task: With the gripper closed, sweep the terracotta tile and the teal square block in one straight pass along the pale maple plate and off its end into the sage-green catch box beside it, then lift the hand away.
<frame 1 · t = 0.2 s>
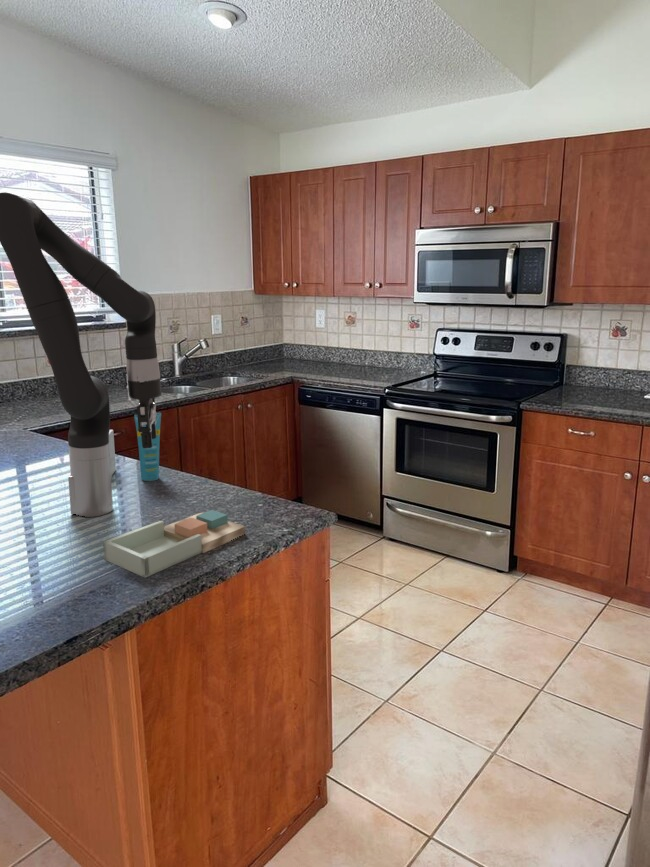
hand: (149, 443, 156), 17 cm above the countertop, tool pointing down, fingers open, 8 cm apart
tube: (150, 479, 184), on the countertop
terracotta tile: (191, 531, 143), point 2 cm above the countertop, touching maple plate
catch box: (153, 556, 135), on the countertop
teal square block: (212, 523, 148), point 2 cm above the countertop, touching maple plate
maple plate: (202, 535, 146), on the countertop
supplement box: (100, 474, 188), on the countertop
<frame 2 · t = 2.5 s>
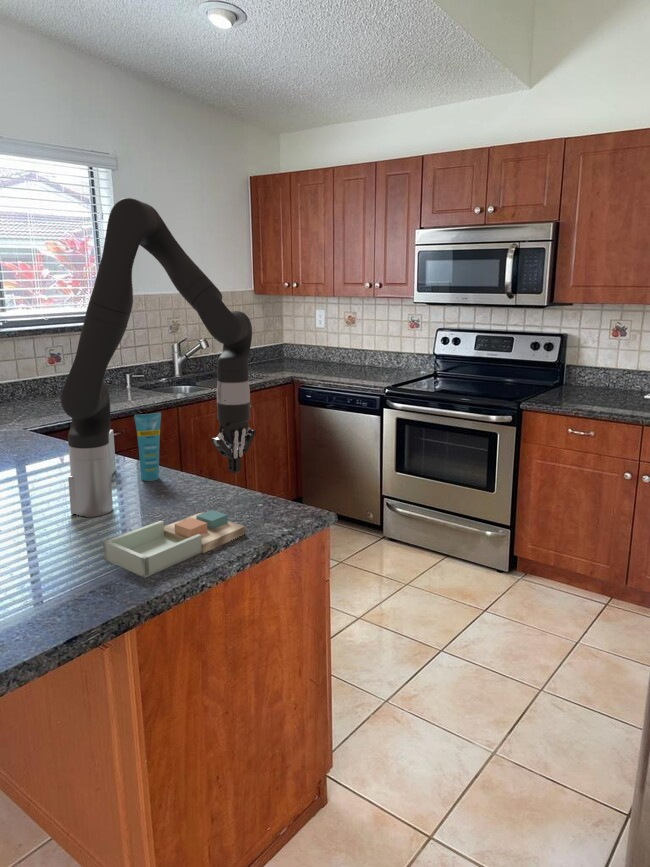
hand: (235, 472, 151), 13 cm above the countertop, tool pointing down, fingers closed
nothing on the countertop moved.
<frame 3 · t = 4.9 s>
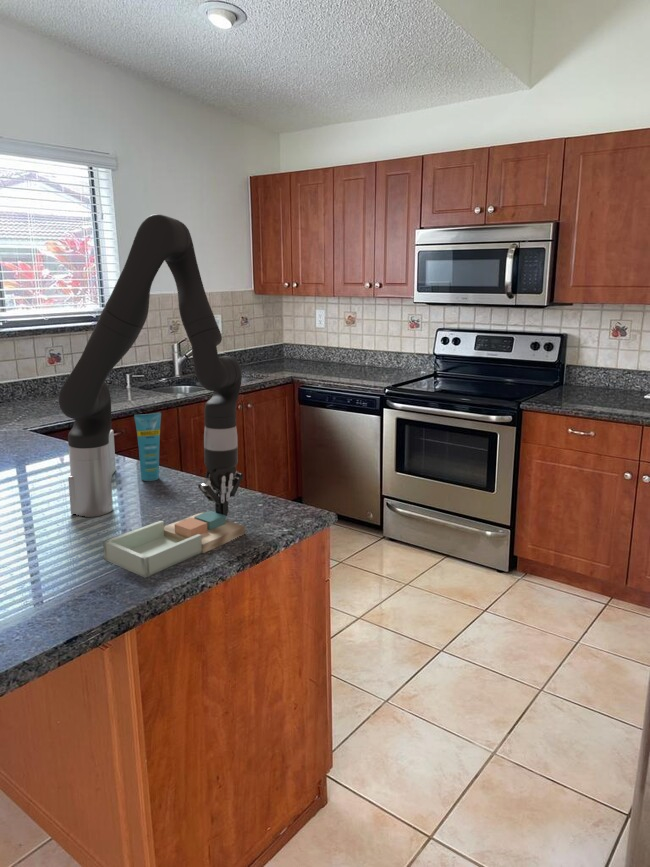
hand: (222, 516, 150), 3 cm above the countertop, tool pointing down, fingers closed
teal square block: (210, 524, 147), point 2 cm above the countertop, touching gripper
everything else where it was.
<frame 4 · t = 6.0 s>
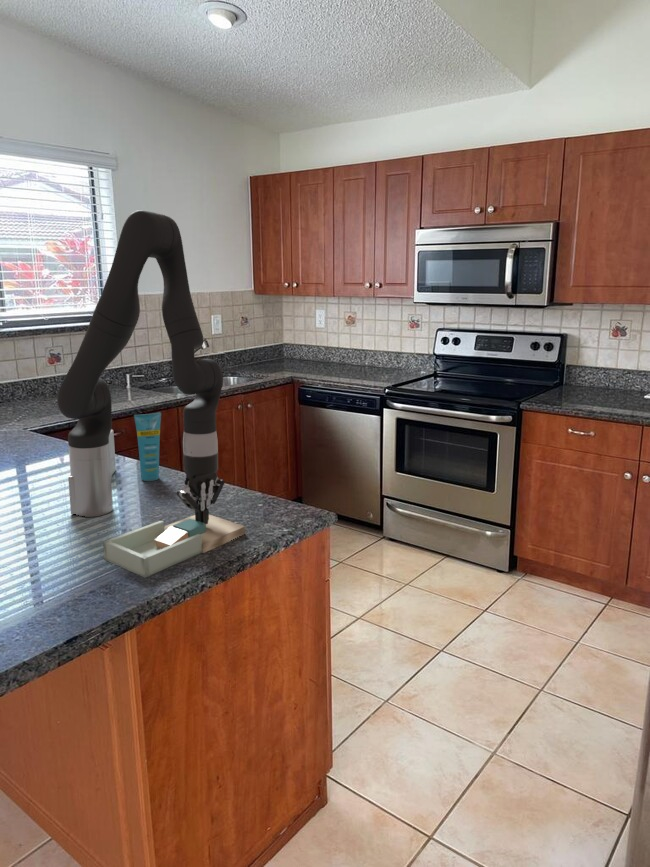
hand: (202, 524, 145), 3 cm above the countertop, tool pointing down, fingers closed
terracotta tile: (173, 543, 139), point 1 cm above the countertop, tilted 17°, touching maple plate
teal square block: (189, 532, 142), point 2 cm above the countertop, touching gripper
everything else where it was.
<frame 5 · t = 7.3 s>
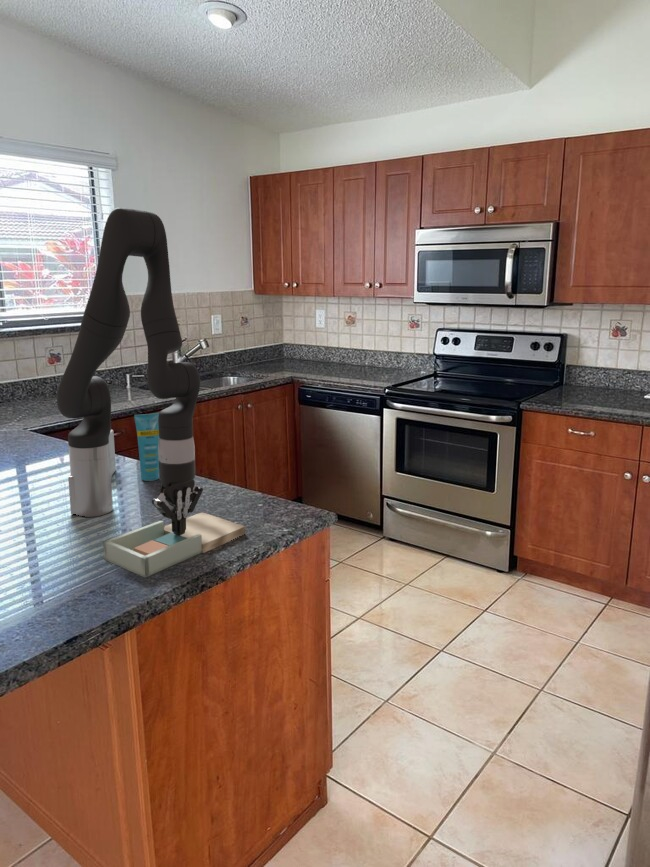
hand: (179, 533, 140), 3 cm above the countertop, tool pointing down, fingers closed
terracotta tile: (151, 555, 134), resting on catch box
teal square block: (171, 547, 138), resting on catch box
everything else where it was.
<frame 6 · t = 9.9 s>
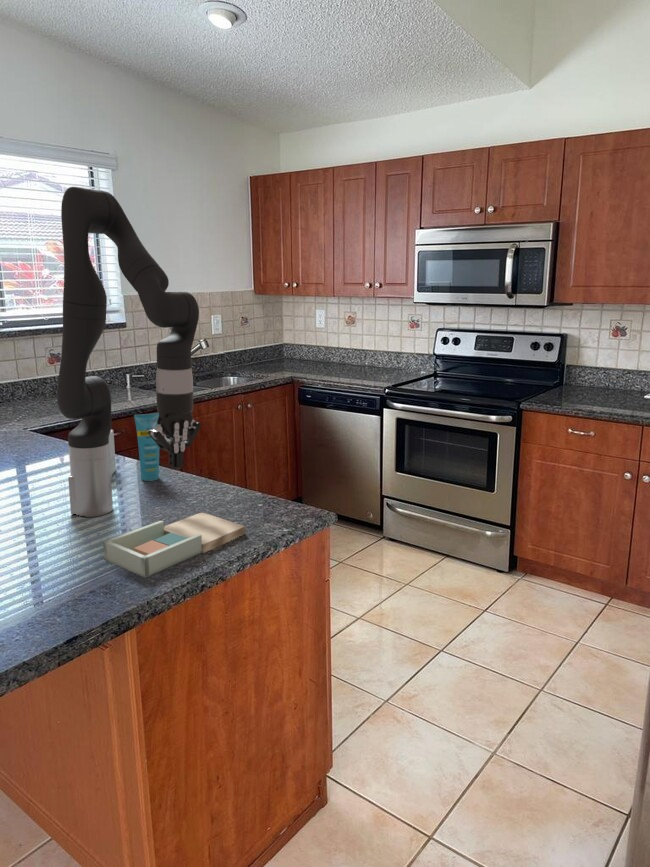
hand: (176, 468, 139), 17 cm above the countertop, tool pointing down, fingers closed
nothing on the countertop moved.
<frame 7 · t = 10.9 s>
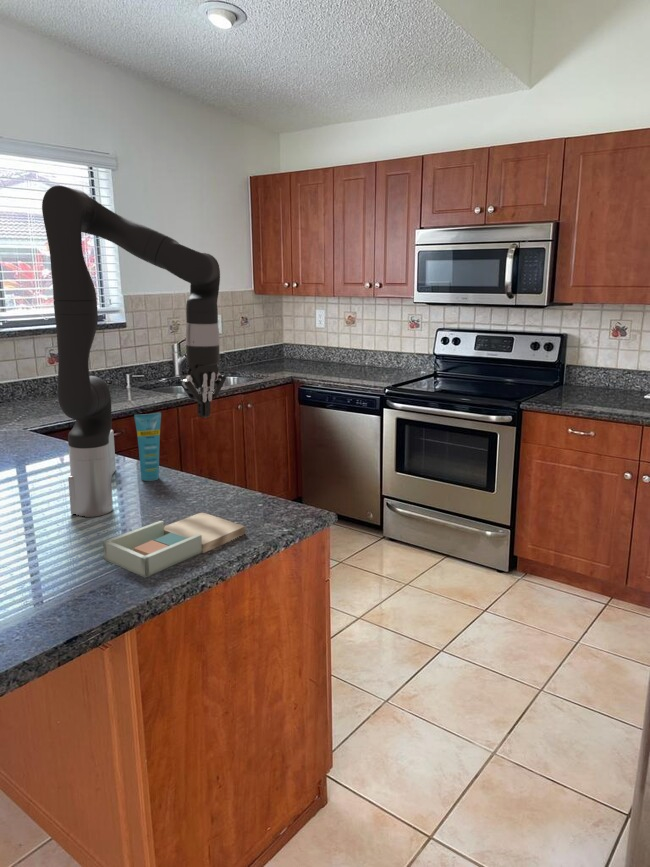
hand: (204, 416, 151), 25 cm above the countertop, tool pointing down, fingers closed
nothing on the countertop moved.
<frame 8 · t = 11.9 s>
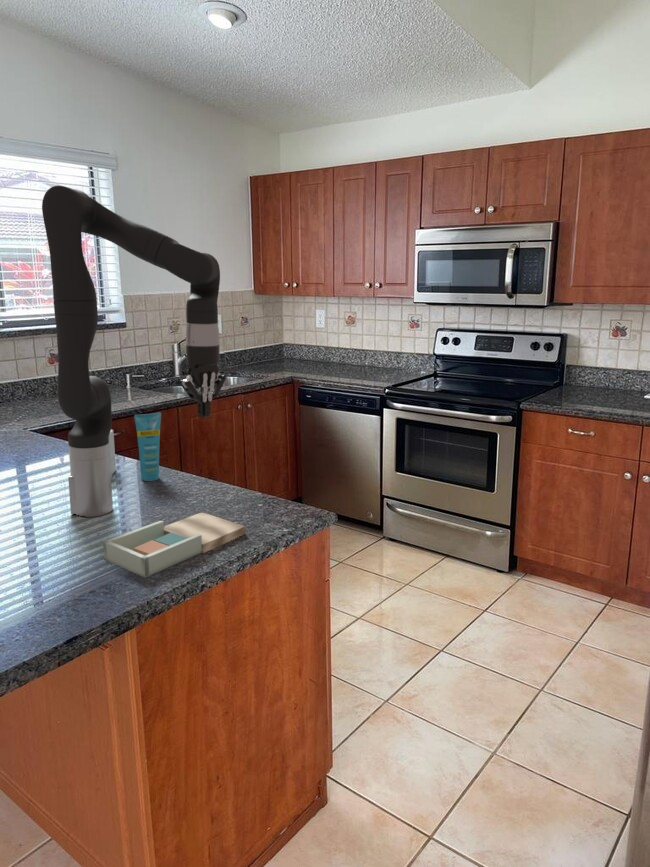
hand: (204, 416, 151), 25 cm above the countertop, tool pointing down, fingers closed
nothing on the countertop moved.
at the end: terracotta tile 1.0 cm from the catch box (horizontally); teal square block 4.4 cm from the catch box (horizontally) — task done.
